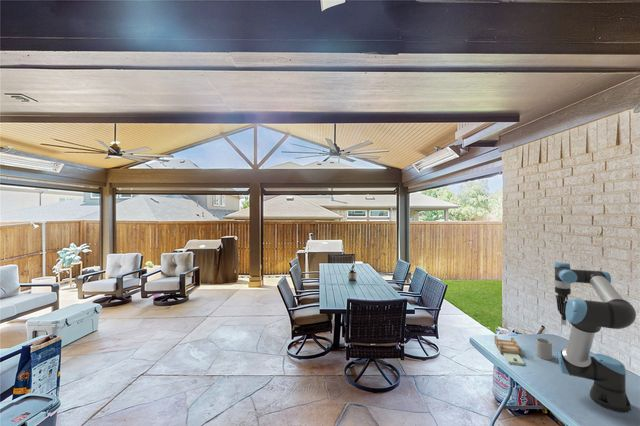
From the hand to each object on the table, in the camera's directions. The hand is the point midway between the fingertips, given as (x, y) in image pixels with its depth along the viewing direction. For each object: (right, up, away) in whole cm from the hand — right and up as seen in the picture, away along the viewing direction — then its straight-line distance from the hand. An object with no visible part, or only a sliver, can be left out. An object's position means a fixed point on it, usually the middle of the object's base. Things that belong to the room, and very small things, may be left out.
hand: (563, 324), depth 175 cm
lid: (-22, -30, +14) cm, 40 cm away
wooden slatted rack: (-17, -29, +27) cm, 43 cm away
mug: (+2, -29, +18) cm, 34 cm away
